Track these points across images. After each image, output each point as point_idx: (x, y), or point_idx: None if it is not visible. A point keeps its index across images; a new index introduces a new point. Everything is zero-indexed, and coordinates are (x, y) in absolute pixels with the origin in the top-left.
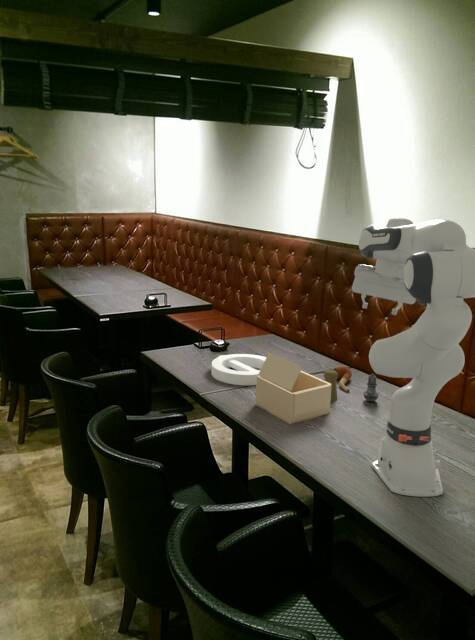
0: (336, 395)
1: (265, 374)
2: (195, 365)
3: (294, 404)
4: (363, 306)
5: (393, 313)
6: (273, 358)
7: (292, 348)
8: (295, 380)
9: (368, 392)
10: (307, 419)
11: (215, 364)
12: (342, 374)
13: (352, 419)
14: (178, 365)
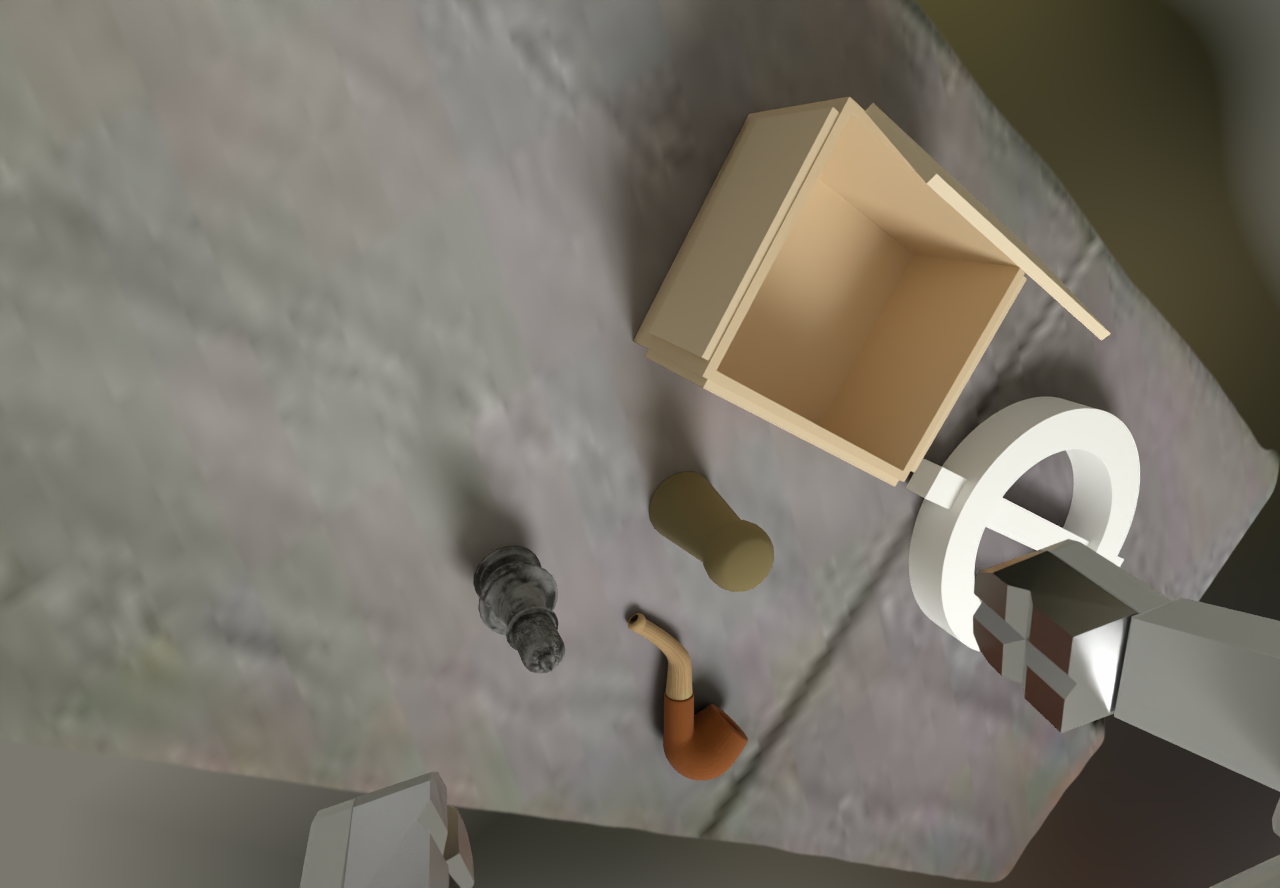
0: (660, 517)
1: (1018, 239)
2: (1150, 478)
3: (796, 115)
4: (1077, 560)
5: (390, 801)
6: (1069, 293)
7: (917, 842)
8: (891, 135)
9: (530, 586)
10: (698, 213)
11: (1127, 460)
12: (700, 728)
13: (517, 337)
14: (1192, 441)
